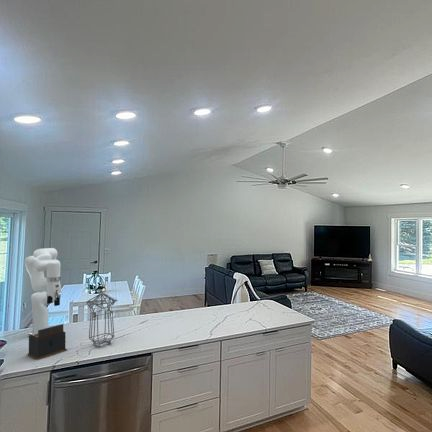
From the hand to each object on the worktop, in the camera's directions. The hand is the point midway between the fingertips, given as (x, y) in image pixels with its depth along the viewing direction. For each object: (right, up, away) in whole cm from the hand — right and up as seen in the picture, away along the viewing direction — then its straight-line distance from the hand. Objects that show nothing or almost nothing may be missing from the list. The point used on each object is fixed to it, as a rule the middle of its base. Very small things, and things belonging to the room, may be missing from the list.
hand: (53, 304), depth 225 cm
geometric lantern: (+32, -28, +1) cm, 43 cm away
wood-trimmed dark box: (+5, -28, -13) cm, 31 cm away
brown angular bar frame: (+4, -16, -12) cm, 20 cm away
